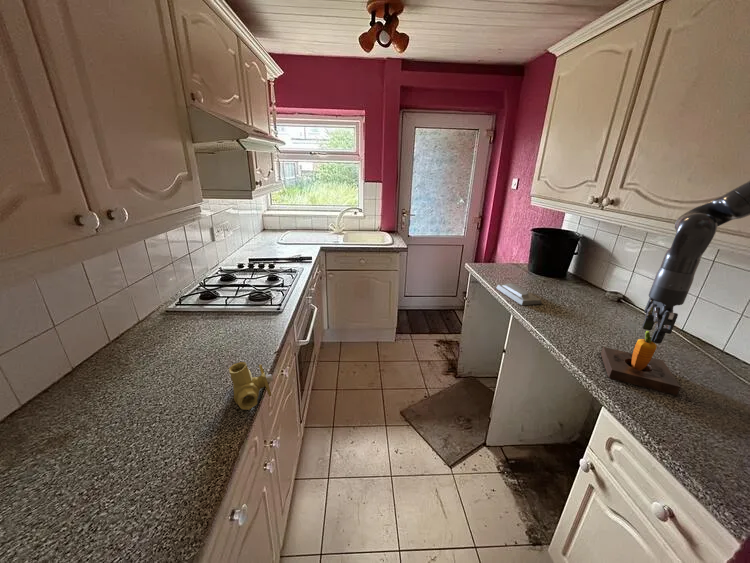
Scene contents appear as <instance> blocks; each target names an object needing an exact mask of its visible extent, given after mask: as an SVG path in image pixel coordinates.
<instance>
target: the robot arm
mask: <svg viewBox="0 0 750 563" xmlns="http://www.w3.org/2000/svg"><path fill="white" fill-rule="evenodd" d="M749 216H750V180H749V181H747V182H744V183H743V184H741V185H739V186H737V187H735V188H733V189H731V190H729V191H728V192H726V193H724V194H722V195H721V196H718V197H717V198H714V199H712V200H709V201H707V202H705V203H703V204H700V205H698V206H696V207H694V208H692V209H690V210H687V211H686V212H683V214H681V215H680V216H679V217H677V219H676V220H675V223H674V229H675V231H676V232H675V235H674V237H673V240H672V243H671V246H670V247H669V248H668V249H667V251H666V252H665V254H664V256H663V259H662V262H661V264H660V267H659V269H658V270H657V272H656V274H655V276H654V279H653V282H652V285H651V287H650V290H649V293H648V300H647V303H646V306H645V308H644V309H643V313H644V314H645V315H644V317H645V319H644V321H643V324H642V329H643V330H645V331H652V330H653V328H654V325H655V328H654V331H653V333H652V336H651V337H652V338H651V337H650V338H651V341H652V342H653V343H655V344H659V345H660V344H662V342H663V340H664V338H665V336H666V334H670V335H671V334H672V332H673V330H674V327H675V324H676V322H677V320H678V316H679V314H678V312H674V307H676V306H682V305H684V304H685V301H686V300H687V296H688V295H689V292H690V289H691V287H692V285H693V282H694V279H695V275H696V272H697V269H698V267H699V265H700V262H701V259H702V256H703V255H704V254H705V252H706V250H707V249H708V248H709V246H710V244H711V243H712V241H713V239H714V237H715V235H716V232H717V229H718V227H720V226H722V225H724V224H726V223H729V222H731V221H734V220H740V219H743V218H747V217H749Z"/></svg>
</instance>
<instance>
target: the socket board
mask: <svg viewBox="0 0 750 563" xmlns="http://www.w3.org/2000/svg"><path fill="white" fill-rule="evenodd" d="M632 354H633V352H630V351H629V352H628V351H624V350H619V349H615V348H612V347H611V348H610V347H606V346H603V347H602V350H601V352H600V357H601V358H602V361H603V362H602V363H603V365H604V368H605V371H606V374H607V377H608V379H612V380H615V381H619V382H623V383H627V384H631V385H635V386H638V387H643V388H647V389H651V390H654V391H658V392H662V393H666V394H670V395H673V396H677V395H678V394H679V391H680V389H681V385H680V383H679V382H678V381H677V379H676V378H675V376H674V375H673V373H672V372H671V370H670V369H669V367H668V365H667V364H666V362H665V360H663V359H660V358H659V359H658V358H655V357H652V358H651V360H650V362H649V363H648V365H647V366H646V367H645V368H644V369H643V370H641V371H640V370H637V369H634V368H632V364H631V362H632Z"/></svg>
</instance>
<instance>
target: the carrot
mask: <svg viewBox="0 0 750 563" xmlns="http://www.w3.org/2000/svg"><path fill="white" fill-rule="evenodd" d="M644 334H645V335H644V338H639V339H637V341H636V343H635V345H634V348H633V352H632V353H633V354H632V362H631V364H632V368H634V369H637V370H640V371H641V370H643V369H644V368H645V367H646V366H647V365H648V363H649V362H650V360H651V358H653V357H654V354H655V353H656V350H657V348H658V345H657V343H653V342H652V341H651V338H652V336H651V332H650V330H645V333H644Z"/></svg>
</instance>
